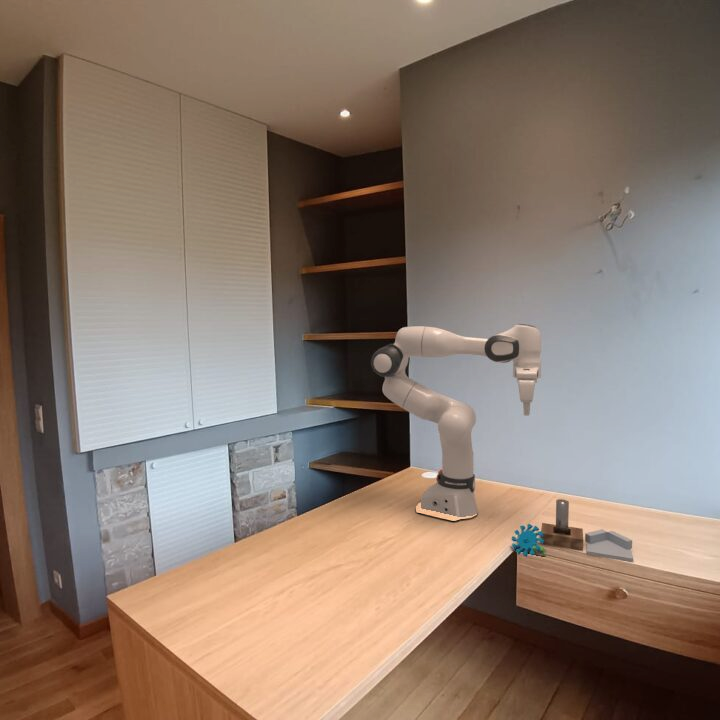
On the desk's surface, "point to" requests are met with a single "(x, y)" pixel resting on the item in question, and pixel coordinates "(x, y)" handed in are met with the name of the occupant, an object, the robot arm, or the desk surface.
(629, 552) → the v block
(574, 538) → the brown slotted block
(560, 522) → the axle
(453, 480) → the robot arm
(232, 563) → the desk surface
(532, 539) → the blue spiky virus model
